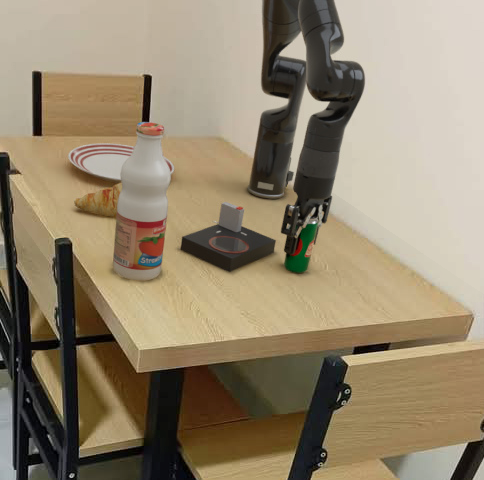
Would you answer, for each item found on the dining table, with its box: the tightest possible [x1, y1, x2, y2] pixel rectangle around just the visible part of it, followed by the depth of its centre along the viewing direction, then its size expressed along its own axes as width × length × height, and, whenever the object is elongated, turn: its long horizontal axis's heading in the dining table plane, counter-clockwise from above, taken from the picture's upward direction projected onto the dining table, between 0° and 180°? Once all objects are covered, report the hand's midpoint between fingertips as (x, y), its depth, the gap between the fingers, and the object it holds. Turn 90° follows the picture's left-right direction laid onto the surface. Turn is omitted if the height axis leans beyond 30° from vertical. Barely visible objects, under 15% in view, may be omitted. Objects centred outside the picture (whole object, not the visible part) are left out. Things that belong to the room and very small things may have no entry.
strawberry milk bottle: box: [112, 121, 172, 282], centre depth 136 cm, size 9×9×28 cm
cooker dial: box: [217, 201, 245, 232], centre depth 159 cm, size 5×2×5 cm, turn 50°
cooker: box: [180, 220, 277, 273], centre depth 157 cm, size 17×15×3 cm
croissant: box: [73, 183, 122, 218], centre depth 167 cm, size 21×10×8 cm, turn 109°
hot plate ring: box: [209, 236, 249, 254], centre depth 152 cm, size 8×8×1 cm
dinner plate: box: [67, 142, 175, 184], centre depth 191 cm, size 28×27×3 cm
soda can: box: [283, 214, 319, 274], centre depth 150 cm, size 5×5×12 cm
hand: (299, 248), depth 151 cm, fingers open, 7 cm apart
